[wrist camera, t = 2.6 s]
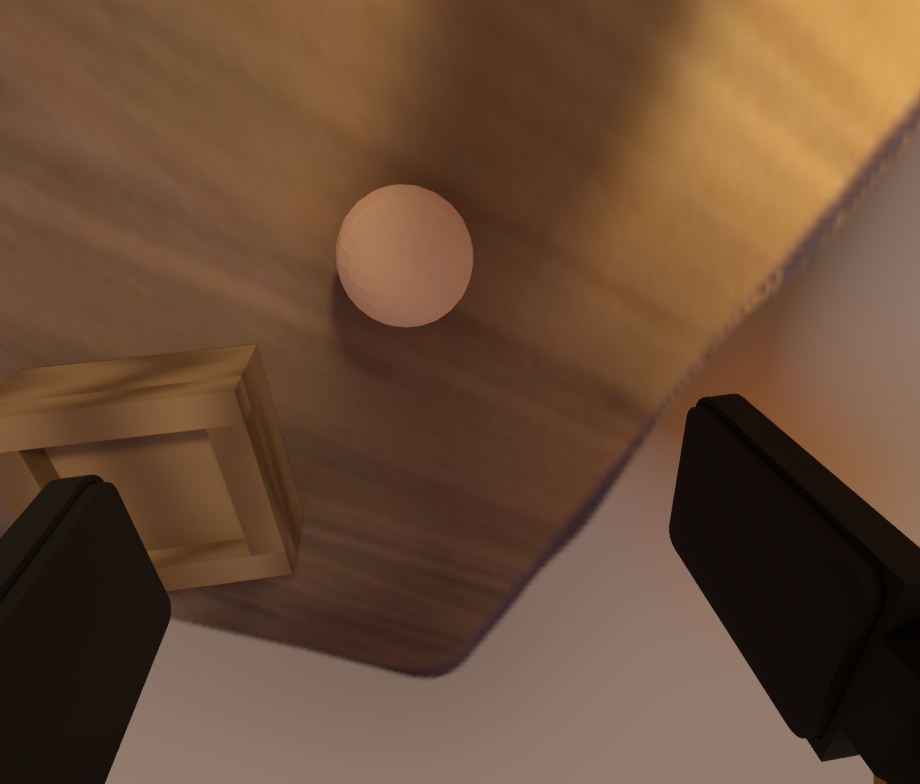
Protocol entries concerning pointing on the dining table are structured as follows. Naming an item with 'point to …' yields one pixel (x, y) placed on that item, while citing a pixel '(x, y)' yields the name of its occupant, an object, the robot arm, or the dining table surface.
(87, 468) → the base
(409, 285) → the egg
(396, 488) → the dining table surface
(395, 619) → the dining table surface
